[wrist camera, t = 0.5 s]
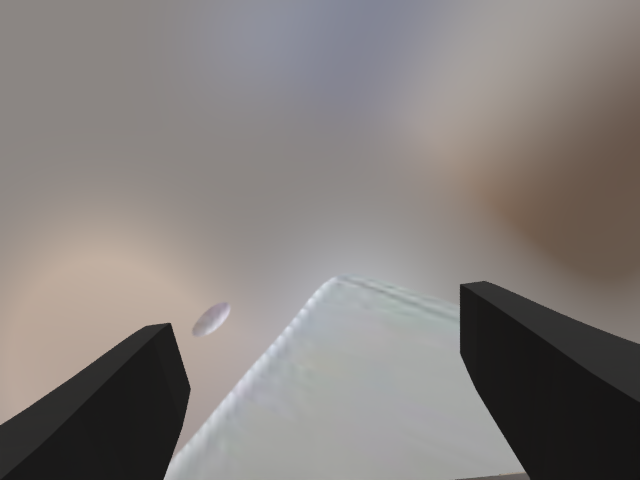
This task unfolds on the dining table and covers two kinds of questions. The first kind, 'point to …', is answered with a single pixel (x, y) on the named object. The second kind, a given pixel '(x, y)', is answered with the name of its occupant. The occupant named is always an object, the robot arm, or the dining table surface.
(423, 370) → the dining table surface
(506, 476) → the walnut shelf
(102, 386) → the robot arm
